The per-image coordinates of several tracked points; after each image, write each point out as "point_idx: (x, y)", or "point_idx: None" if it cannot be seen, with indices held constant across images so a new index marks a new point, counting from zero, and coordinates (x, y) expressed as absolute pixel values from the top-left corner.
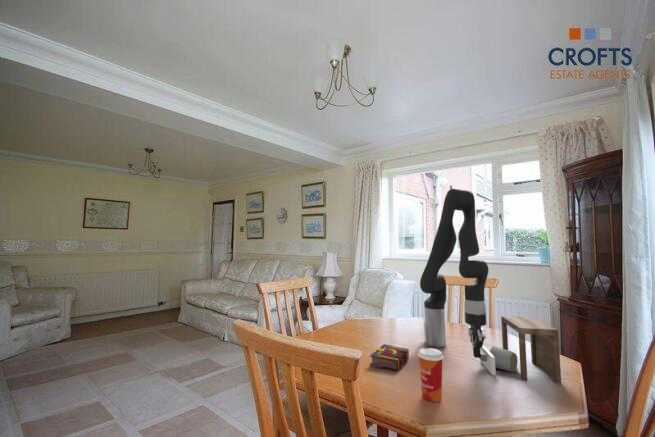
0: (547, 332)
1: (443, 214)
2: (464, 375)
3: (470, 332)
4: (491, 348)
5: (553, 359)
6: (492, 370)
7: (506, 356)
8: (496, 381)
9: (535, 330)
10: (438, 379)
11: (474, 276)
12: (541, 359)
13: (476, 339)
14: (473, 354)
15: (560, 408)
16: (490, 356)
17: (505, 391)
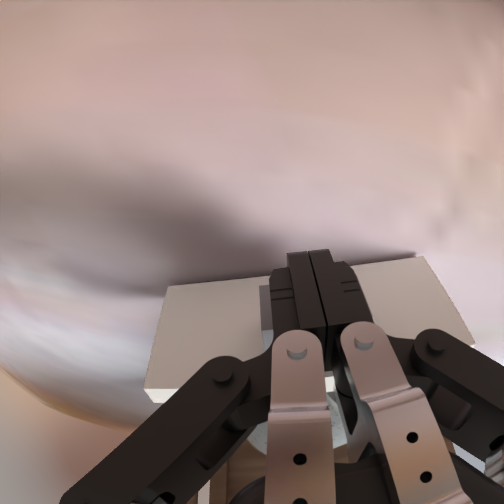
0: None
1: None
2: (92, 110)
3: (435, 501)
4: (338, 415)
5: (220, 500)
6: (163, 311)
7: (254, 432)
8: (103, 288)
9: None
10: None
11: None
12: (336, 456)
13: (98, 490)
14: (322, 256)
15: (34, 386)
16: (161, 386)
17: (24, 299)
